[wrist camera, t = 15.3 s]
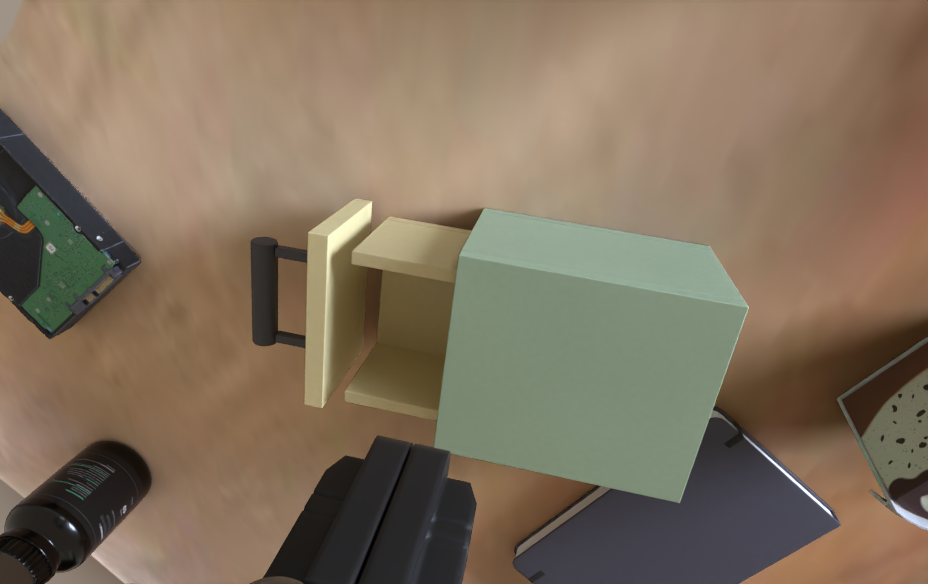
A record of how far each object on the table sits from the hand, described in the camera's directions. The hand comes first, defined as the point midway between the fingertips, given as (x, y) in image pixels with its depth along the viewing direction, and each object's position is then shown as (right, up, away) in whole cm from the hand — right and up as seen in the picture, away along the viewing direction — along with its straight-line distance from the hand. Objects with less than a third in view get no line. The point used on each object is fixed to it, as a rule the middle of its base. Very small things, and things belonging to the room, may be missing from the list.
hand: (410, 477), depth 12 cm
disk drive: (-32, +9, +34) cm, 47 cm away
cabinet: (+9, +2, +29) cm, 31 cm away
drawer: (-3, +4, +30) cm, 30 cm away
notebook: (+17, -15, +35) cm, 42 cm away
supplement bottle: (-30, -12, +43) cm, 54 cm away
